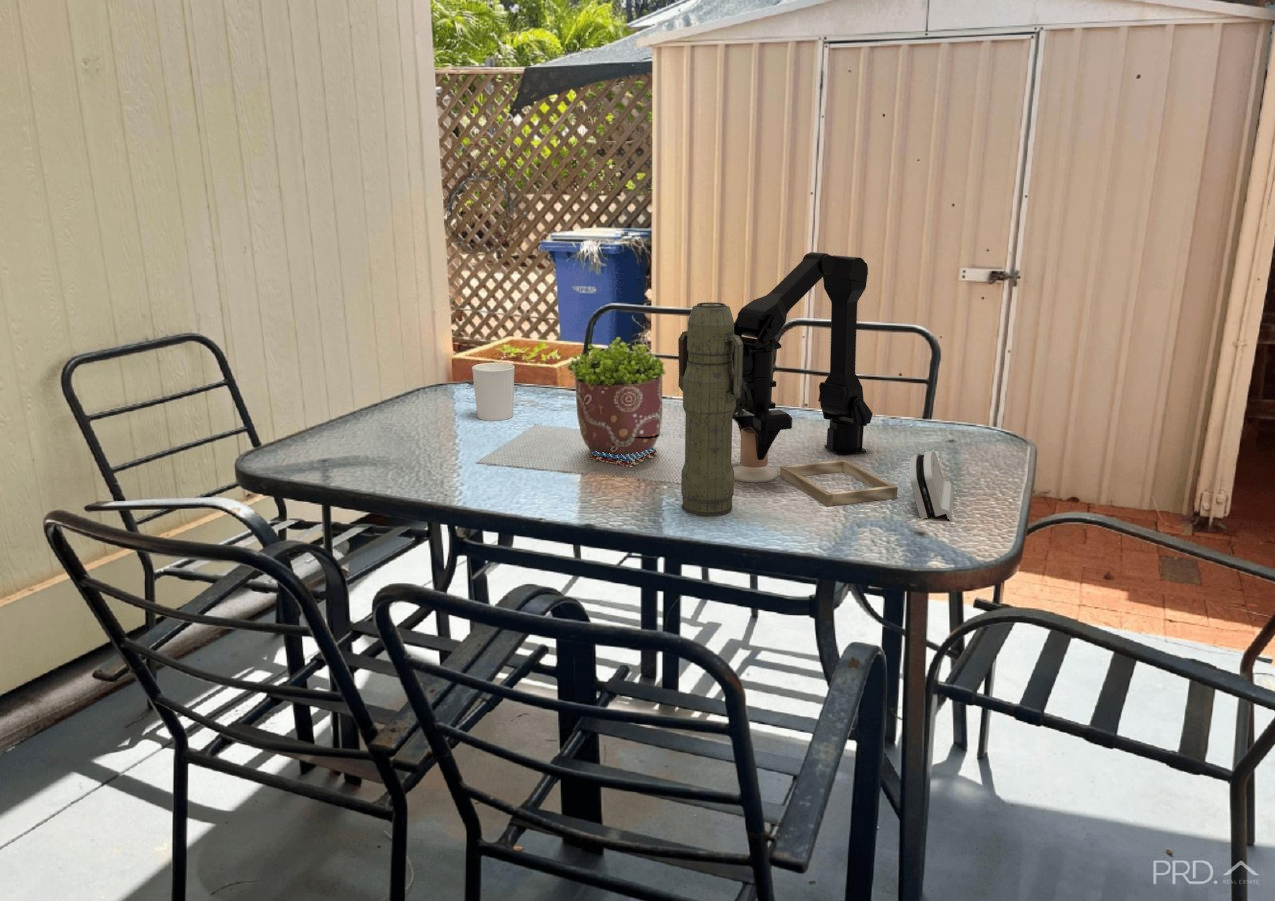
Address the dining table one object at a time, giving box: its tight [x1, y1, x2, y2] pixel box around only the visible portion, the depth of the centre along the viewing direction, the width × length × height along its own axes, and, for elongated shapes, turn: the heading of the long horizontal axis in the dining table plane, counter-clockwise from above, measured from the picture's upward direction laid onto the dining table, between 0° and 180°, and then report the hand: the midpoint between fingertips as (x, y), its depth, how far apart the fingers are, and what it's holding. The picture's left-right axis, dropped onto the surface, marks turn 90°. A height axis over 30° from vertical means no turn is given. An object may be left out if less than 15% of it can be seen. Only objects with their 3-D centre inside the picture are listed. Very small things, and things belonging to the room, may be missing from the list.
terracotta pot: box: [739, 427, 769, 468], centre depth 187 cm, size 5×5×7 cm
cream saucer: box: [732, 464, 778, 484], centre depth 189 cm, size 9×9×1 cm
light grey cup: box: [471, 362, 516, 422], centre depth 232 cm, size 10×10×12 cm
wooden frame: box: [779, 459, 899, 507], centre depth 182 cm, size 14×18×2 cm
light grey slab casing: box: [908, 451, 955, 520], centre depth 172 cm, size 17×5×10 cm, turn 162°
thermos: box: [677, 301, 743, 517], centre depth 166 cm, size 9×12×35 cm
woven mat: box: [590, 447, 658, 468], centre depth 201 cm, size 10×11×2 cm
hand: (754, 455), depth 188 cm, fingers closed on terracotta pot, 5 cm apart
